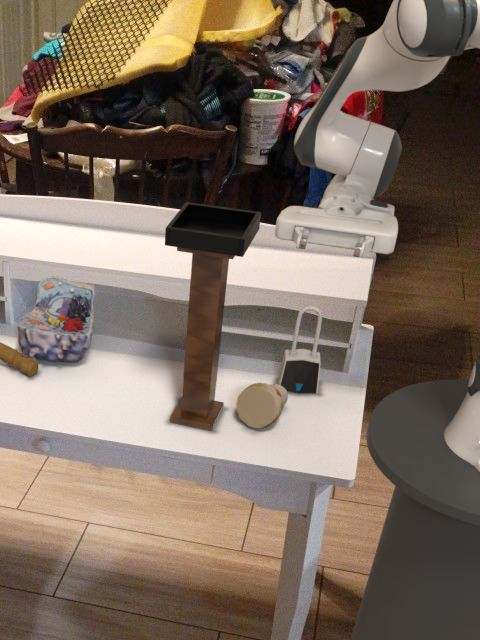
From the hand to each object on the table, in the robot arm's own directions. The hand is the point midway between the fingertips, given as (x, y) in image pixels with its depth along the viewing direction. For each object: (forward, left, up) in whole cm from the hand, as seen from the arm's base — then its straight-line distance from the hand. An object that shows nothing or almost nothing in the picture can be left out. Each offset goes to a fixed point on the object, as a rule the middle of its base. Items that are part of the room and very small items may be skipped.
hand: (329, 248), depth 141 cm
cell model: (+46, +4, -15) cm, 49 cm away
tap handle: (+43, +24, -18) cm, 53 cm away
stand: (+14, +26, -20) cm, 36 cm away
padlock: (0, +12, -20) cm, 23 cm away
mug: (+4, +22, -20) cm, 30 cm away
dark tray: (+14, +26, +10) cm, 31 cm away
